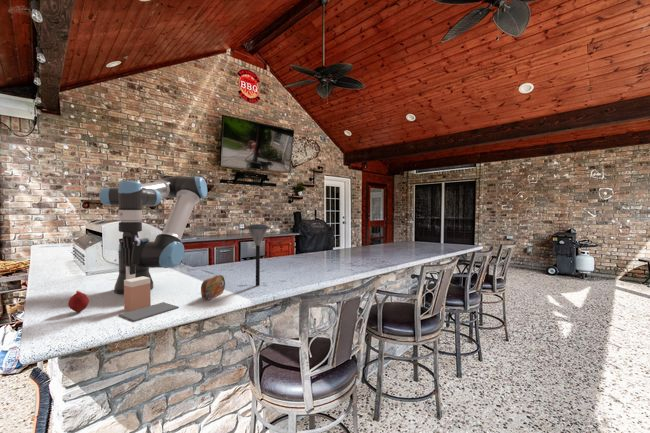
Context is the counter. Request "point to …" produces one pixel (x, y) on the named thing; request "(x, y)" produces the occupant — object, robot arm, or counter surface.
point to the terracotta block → (137, 293)
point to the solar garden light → (257, 244)
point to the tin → (212, 287)
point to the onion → (78, 302)
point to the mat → (148, 311)
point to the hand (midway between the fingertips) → (130, 282)
